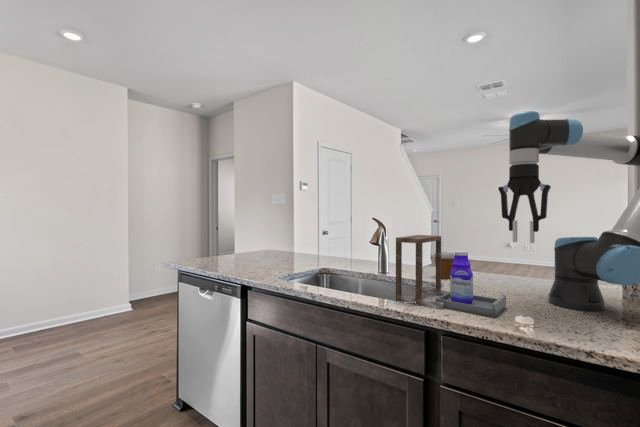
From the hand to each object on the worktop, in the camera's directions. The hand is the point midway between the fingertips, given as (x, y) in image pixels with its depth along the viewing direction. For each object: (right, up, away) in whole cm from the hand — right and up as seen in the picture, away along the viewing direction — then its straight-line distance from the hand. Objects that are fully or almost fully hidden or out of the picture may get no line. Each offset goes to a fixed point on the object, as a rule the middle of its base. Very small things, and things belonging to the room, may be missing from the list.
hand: (523, 242), depth 98 cm
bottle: (-13, -22, +12) cm, 28 cm away
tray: (-11, -23, +10) cm, 27 cm away
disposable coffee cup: (-2, -23, +57) cm, 61 cm away
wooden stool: (-22, -23, +19) cm, 37 cm away
